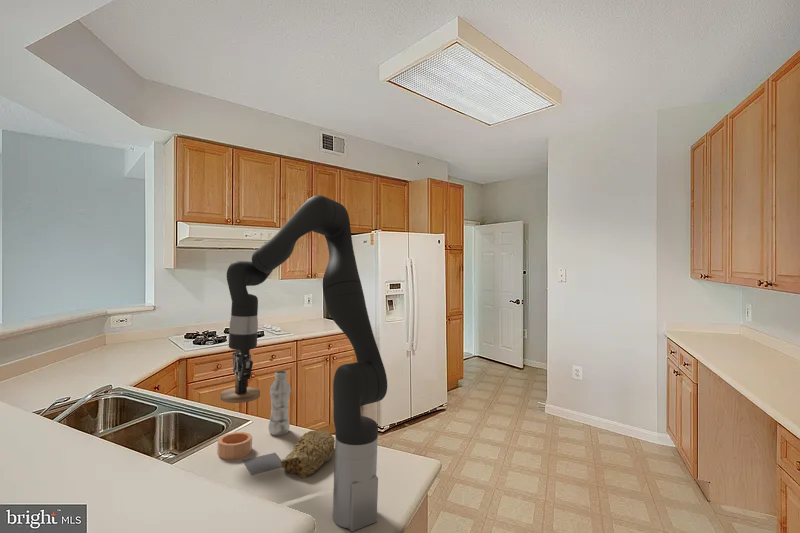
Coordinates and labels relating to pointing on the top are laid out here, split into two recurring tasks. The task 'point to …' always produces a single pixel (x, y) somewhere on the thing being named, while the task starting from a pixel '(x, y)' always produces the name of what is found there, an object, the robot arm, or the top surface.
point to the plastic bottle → (279, 405)
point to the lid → (235, 397)
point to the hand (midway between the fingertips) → (240, 391)
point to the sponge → (309, 453)
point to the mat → (263, 463)
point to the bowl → (234, 445)
